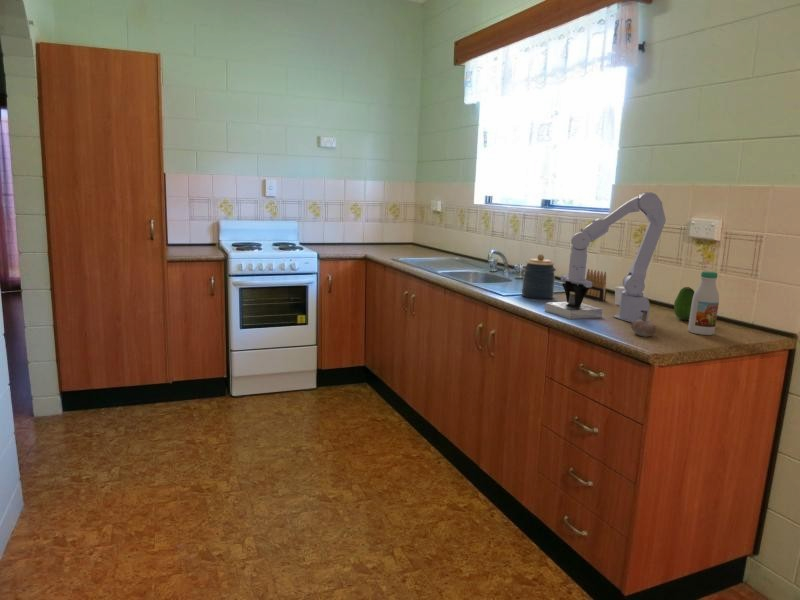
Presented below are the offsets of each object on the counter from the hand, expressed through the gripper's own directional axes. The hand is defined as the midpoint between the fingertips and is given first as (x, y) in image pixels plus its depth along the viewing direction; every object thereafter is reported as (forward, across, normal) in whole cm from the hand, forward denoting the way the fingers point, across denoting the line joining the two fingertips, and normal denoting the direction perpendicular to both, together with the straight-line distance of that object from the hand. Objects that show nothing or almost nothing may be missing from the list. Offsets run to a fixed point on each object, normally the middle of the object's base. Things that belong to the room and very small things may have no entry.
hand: (573, 303), depth 212 cm
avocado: (+4, +18, +35) cm, 40 cm away
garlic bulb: (+4, +31, +2) cm, 31 cm away
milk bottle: (+4, +34, +24) cm, 42 cm away
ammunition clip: (+4, -23, +30) cm, 38 cm away
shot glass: (+4, -10, +33) cm, 35 cm away
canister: (+4, -32, +8) cm, 33 cm away
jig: (+4, 0, 0) cm, 4 cm away
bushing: (+1, 0, 0) cm, 1 cm away
